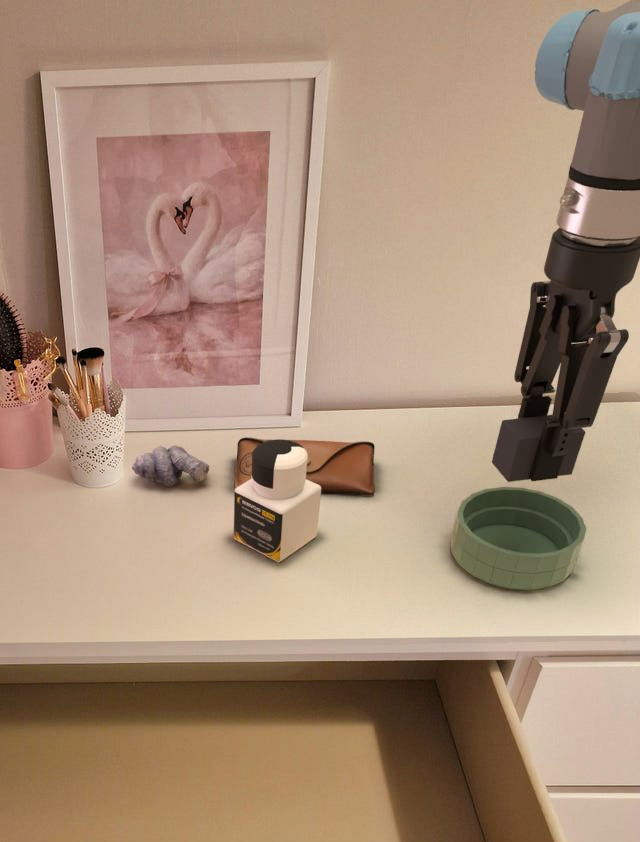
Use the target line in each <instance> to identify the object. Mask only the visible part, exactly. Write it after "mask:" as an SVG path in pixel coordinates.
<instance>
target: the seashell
mask: <svg viewBox="0 0 640 842" xmlns="http://www.w3.org/2000/svg"><path fill="white" fill-rule="evenodd" d="M131 470H132V471H134V473H135V475H138V476H139V477H140V478H142V479H147V481H148V482H150V483H151V484H153V485H158V484H160V483H161V484H162V485H163V486H165V487H166V488H171V487H173V486H174V485H177V484H179V482H180V479H181V477H182V475H183V472H184V473H186V474H188V475H189V476H190V477H191V478H192V479H195V480H196V481H197V482H200V483H201V482H202V481H204V480H205V479H206V478H207V476H208V473H209V471H210V464H209V463H208V462H207V463H206V462H205V461H202V460H201V459H198V458H197V457H195V456H194V455H192V454H190V453H188V452H187V451H186V450H185V448H184V447H183V446H178V445H175V444H174V445H172V446H169V447H168V448H167V447H165V446H161V445H159V446H157V447H155V448H154V449H153V450H152V451H151V452H146V453H143V454H142V455H138V456H137V457H136V458H135V462H134V463H133V464H132V466H131Z"/></svg>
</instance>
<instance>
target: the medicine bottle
mask: <svg viewBox="0 0 640 842" xmlns="http://www.w3.org/2000/svg"><path fill="white" fill-rule="evenodd" d="M268 440H269V441H266V442H263V443H261V444H259V445H258V446H257V447H256V448H255V449H254V450H253V453H252V474H251V479H250V480H249V481H247V482H245V483H244V484H242V485H240V486H239V487H237V488H236V489H235V488H234V492H233V493H234V496H233V505H234V506H233V539H234V540H235V541H237V542H239V543H240V544H243V545H244V546H246V547H248V548H250V549H252V550H254V551H256V552H258V553H260V554H261V555H264V556H265V557H267V558H269V559H271V560H273V561H274V562H276V563H280V562H282V561H284V560H286V558H288V557H289V556H291V555H292V554H294V553H295V552H297V551H298V550H299V549H301V548H302V547H304V546H305V545H306V544H308V543H309V542H311V541H312V540H314V539H315V538H316V537H317V535H318V527H319V515H320V505H321V495H322V493H321V486H320V485H318V484H315V483H313V482H311V481H309V480H307V479H306V469H307V456H308V455H307V452H306V450H305V449H304V448H303V447H302V446H301V445H300V444H298V443H296V442H293V441H290V440H291V439H281V438H280V439H279V438H278V439H277V438H276V439H268Z"/></svg>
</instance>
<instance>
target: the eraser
mask: <svg viewBox="0 0 640 842" xmlns="http://www.w3.org/2000/svg"><path fill="white" fill-rule="evenodd" d="M545 419H552V414H548V415H545V416H536V417H527V418H518V417H517V418H511V419H502V421H501V424H500V428H499V432H498V435H497V439H496V444H495V448H494V452H493V455H492V459H491V463H492V465H493V466H494V468H496V469H497V471H498V473H500V474H501V475H502V477H503V478H504V479H505V480H506V482H507V483H510V482H511V483H512V482H519V481H527V480H528V481H529V480H530V478H529V475H530V472H531V469H532V465H533V462H534V458H535V455H536V451H537V448H538V444H539V441H540V437H541V433H542V430H543V426H544V420H545ZM585 435H586V431H585V430H584V428H577V429H574V432H573V435H572V438H571V441H570V444H569V446H568V447H569V448H568V451H567V453H566V454H565V455H564V458H563V461H562V464H561V467H560V471H559V474H558V477H562V476H571V475H572V474H573V472H574V468H575V465H576V462H577V459H578V457H579V453H580V451H581V447H582V444H583V441H584V439H585Z"/></svg>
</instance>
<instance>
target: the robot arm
mask: <svg viewBox="0 0 640 842" xmlns="http://www.w3.org/2000/svg"><path fill="white" fill-rule="evenodd" d="M534 67H535V68H534V69H535V70H534V82H535V86H536V89H537V91H538V93H539V94H540V96H541V97H542V98H543V99H544V100H547V101H548V102H552V103H555V104H557V105H561V106H564V107H565V108H567V110H570V111H571V110H572V111H574V110H576V111H577V110H578V111H581V112H582V111H583V113H582V118H581V122H580V126H579V130H578V134H577V137H576V143H575V147H574V151H573V156H572V159H571V162H570V165H569V169H568V175H567V179H566V182H565V187H564V190H563V193H562V195H561V197H560V199H559V204H560V206H559V209H558V212H557V217H556V225H557V226H558V227H559V228H557V229H556V230H555V231H554V232H552V235H551V238H550V242H549V246H548V251H547V254H546V258H545V261H544V266H543V272H544V275H545V276H546V278H547V279H548V280H544V281H534V282H532V283H531V286H530V294H529V295H530V296H529V308H528V314H527V318H526V322H525V326H524V331H523V336H522V339H521V344H520V349H519V353H518V356H517V357H518V358H517V361H516V365H515V371H514V375H513V377H514V378H513V379H514V381H515V382H516V383H520V384H521V386H520V394H521V396H522V398H521V403H520V408H519V411H518V414H517V419H518V418H527V417H536V416H545V415H549V411H550V407H551V403H552V401H553V399H552V397H550V396H549V395H546V394H554V393H555V396H554V402H553V408H552V413H551V415H552V419H545V420H544V426H543V430H542V433H541V437H540V441H539V444H538V448H537V451H536V455H535V458H534V462H533V465H532V469H531V472H530V475H529V478H530V479H529V480H530V481H531V482H538V481H547V480H555V479H558V477H559V476H558V474H559V471H560V467H561V464H562V461H563V458H564V455H565V454H566V453H567V451H568V448H569V447H568V446H569V444H570V441H571V438H572V435H573V432H574V429H577V428H582V429H584V428H592V426H593V425H594V423H595V420H596V417H597V414H598V412H599V409H600V406H601V403H602V401H603V398H604V394H605V392H606V388H607V387H608V384H609V382H610V378H611V376H612V373H613V369H614V366H615V364H616V362H617V358H618V356H619V355H620V353H621V352H622V350H623V349H624V347H625V345H626V344H627V343H628V341H629V337H630V333H629V330H628V329H626V328H624V329H623V328H622V329H618V328H617V327H616V325H615V323H614V320H613V317H614V316H615V311H616V305H615V304H616V298H617V294H618V293H619V292H620V291H621V290H622V289H623V288H624V287H626V286H627V285H629V284H631V282H632V281H633V280H634V277H635V275H636V271H637V268H638V266H639V263H640V0H629V1H626V2H625V3H623V4H621V5H618V6H617V7H615V8H613V9H611V10H608V11H603V12H602V11H600V10H599V9H597V8H592V9H591V8H590V9H588V10H579V9H577V10H572V11H570V12H567V13H566V14H564V15H562V16H561V17H560V18H558V19H557V20H556V21H555V22H554V23H553V24H552V26H551V27H550V28H549V30H548V31H547V32H546V34H545V36H544V38H543V40H542V41H541V43H540V46H539V49H538V51H537V55H536V59H535V63H534ZM558 370H559V371H558ZM558 372H559V373H558ZM557 373H558V377H557V378H558V379H557V384H556V389H555V388H554V386H553V385H552V384H553V382H554V379H555V377H556V375H557Z"/></svg>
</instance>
